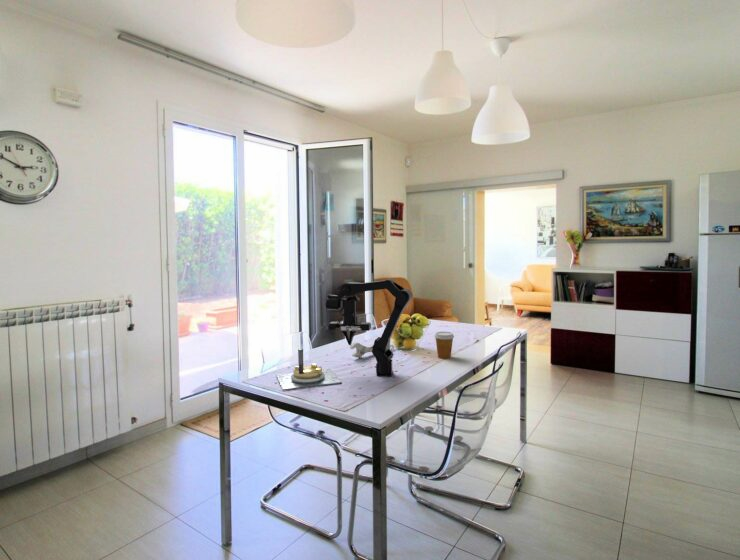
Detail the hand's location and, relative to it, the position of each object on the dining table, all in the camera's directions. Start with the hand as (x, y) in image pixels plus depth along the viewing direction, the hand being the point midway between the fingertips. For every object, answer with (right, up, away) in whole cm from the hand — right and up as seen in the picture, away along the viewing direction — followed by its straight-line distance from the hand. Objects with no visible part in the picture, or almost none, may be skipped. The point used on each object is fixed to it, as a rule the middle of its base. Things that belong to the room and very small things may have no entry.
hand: (349, 345), depth 192 cm
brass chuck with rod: (-17, -11, -10) cm, 23 cm away
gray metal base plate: (-17, -13, -10) cm, 24 cm away
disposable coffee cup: (+46, -10, +23) cm, 52 cm away
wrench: (+11, -10, +30) cm, 33 cm away
